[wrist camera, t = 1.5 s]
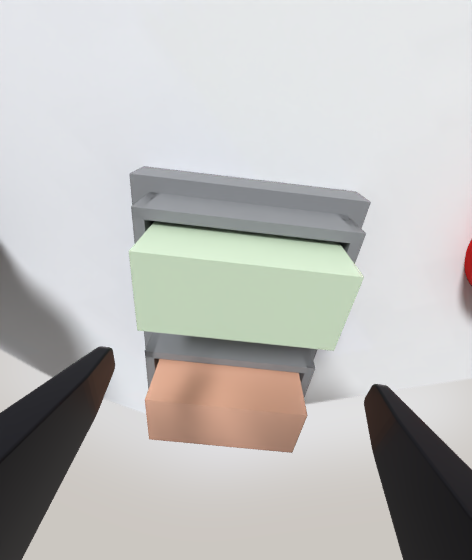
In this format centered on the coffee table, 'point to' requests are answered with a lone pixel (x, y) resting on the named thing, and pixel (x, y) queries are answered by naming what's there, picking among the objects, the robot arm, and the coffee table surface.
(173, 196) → the button panel
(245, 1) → the coffee table surface
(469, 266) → the decorative ornament
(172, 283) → the sage button
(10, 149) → the coffee table surface
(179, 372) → the orange brown block
